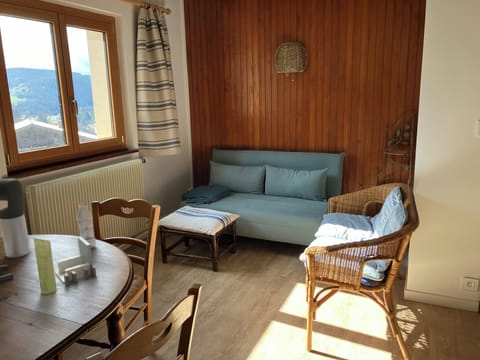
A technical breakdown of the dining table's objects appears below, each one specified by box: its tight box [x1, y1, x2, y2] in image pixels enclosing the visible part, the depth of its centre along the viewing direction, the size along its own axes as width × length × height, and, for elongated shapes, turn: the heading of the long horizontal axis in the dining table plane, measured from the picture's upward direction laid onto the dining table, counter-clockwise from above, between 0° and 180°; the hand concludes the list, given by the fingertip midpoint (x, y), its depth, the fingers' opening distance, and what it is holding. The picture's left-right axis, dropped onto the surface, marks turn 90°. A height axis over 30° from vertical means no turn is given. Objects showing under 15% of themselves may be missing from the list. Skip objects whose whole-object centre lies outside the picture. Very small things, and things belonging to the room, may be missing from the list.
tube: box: [33, 237, 57, 295], centre depth 135 cm, size 6×5×20 cm
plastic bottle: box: [76, 203, 97, 249], centre depth 171 cm, size 6×7×20 cm
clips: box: [63, 264, 97, 287], centre depth 144 cm, size 2×11×4 cm, turn 129°
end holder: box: [54, 236, 94, 285], centre depth 149 cm, size 11×11×12 cm
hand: (10, 272), depth 128 cm, fingers open, 8 cm apart
